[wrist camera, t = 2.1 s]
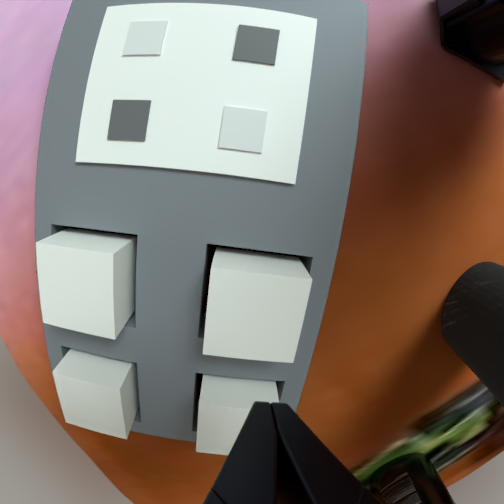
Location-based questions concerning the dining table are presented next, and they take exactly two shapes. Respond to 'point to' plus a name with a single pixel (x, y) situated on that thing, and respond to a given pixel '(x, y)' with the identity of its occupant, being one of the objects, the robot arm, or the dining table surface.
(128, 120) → the button board
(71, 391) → the button
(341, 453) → the dining table surface
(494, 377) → the travel mug
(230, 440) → the button
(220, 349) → the button
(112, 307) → the button
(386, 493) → the supplement bottle
